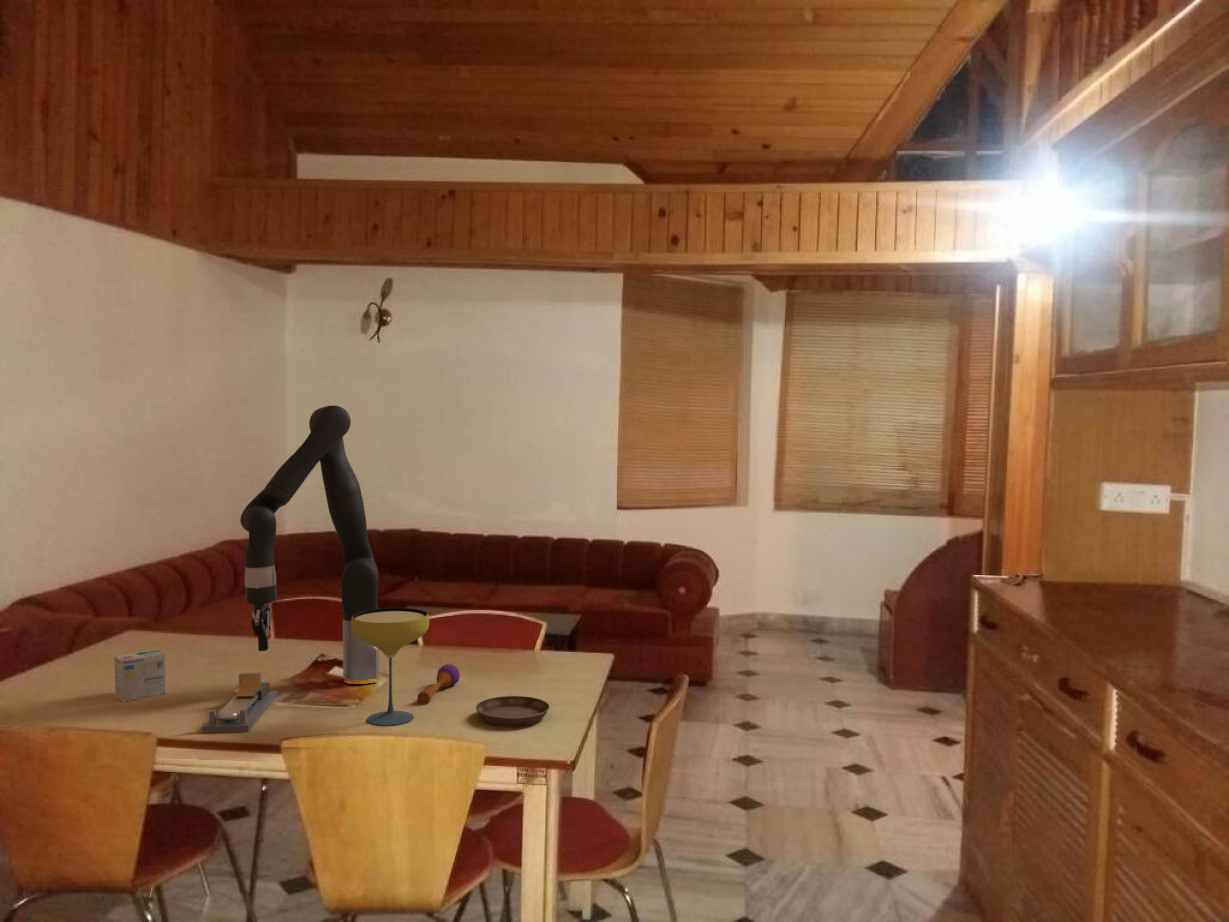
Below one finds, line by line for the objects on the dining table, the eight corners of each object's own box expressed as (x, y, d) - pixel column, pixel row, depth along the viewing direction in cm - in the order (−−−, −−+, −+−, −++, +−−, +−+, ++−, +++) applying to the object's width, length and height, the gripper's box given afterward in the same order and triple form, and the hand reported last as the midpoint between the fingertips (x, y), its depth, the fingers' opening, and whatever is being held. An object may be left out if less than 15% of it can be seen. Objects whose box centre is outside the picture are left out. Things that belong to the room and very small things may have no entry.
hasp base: (248, 731, 221) (248, 712, 221) (202, 733, 220) (202, 713, 220) (277, 696, 249) (277, 679, 249) (237, 697, 248) (236, 679, 248)
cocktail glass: (364, 706, 241) (363, 606, 240) (436, 708, 240) (436, 608, 239) (341, 730, 223) (340, 622, 222) (419, 731, 222) (419, 623, 221)
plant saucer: (551, 707, 242) (551, 695, 242) (547, 730, 225) (547, 717, 225) (481, 707, 242) (480, 695, 242) (470, 730, 225) (470, 717, 225)
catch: (254, 695, 236) (254, 679, 236) (232, 696, 235) (232, 680, 235) (261, 687, 243) (261, 672, 243) (240, 688, 242) (240, 672, 242)
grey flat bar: (238, 720, 222) (238, 714, 222) (215, 721, 221) (215, 714, 221) (258, 698, 240) (258, 692, 239) (237, 699, 239) (237, 692, 239)
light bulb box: (157, 688, 255) (156, 648, 255) (166, 694, 250) (166, 652, 250) (113, 696, 248) (113, 654, 247) (122, 702, 243) (122, 659, 242)
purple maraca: (410, 688, 244) (440, 662, 264) (415, 710, 245) (444, 683, 264) (432, 685, 243) (460, 659, 262) (436, 708, 243) (464, 681, 263)
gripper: (251, 579, 255) (254, 645, 256) (239, 588, 242) (241, 657, 243) (281, 578, 256) (283, 643, 257) (270, 587, 243) (273, 655, 244)
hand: (263, 650), depth 250 cm, fingers closed
